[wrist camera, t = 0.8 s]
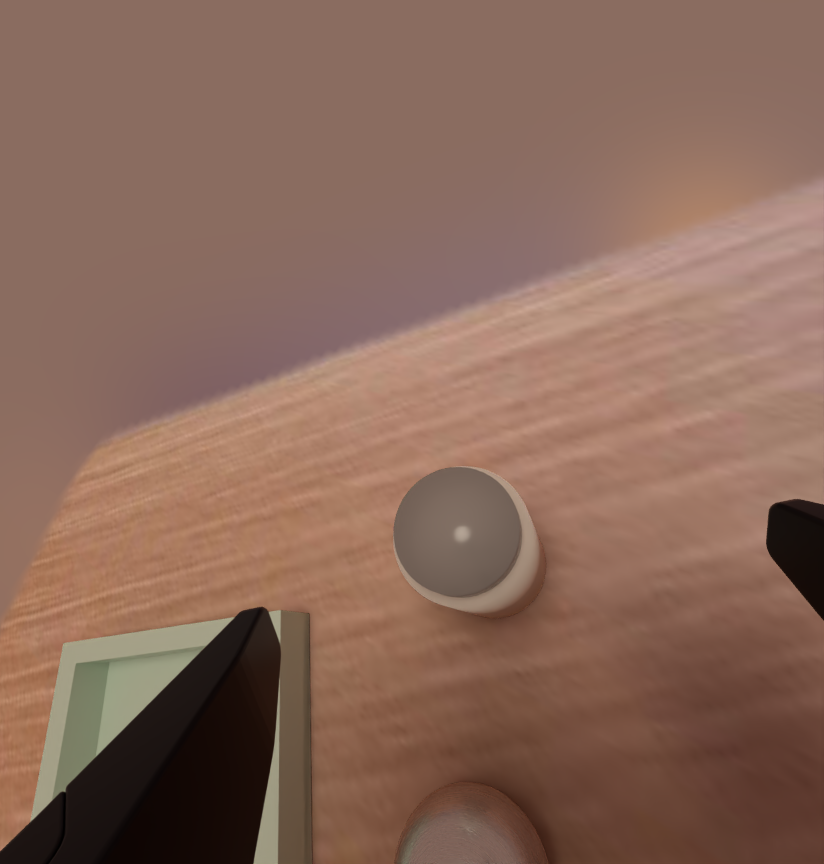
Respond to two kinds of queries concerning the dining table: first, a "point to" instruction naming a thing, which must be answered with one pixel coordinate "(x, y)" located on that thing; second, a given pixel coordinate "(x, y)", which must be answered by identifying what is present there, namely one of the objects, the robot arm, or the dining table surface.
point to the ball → (469, 829)
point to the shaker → (469, 543)
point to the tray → (144, 679)
